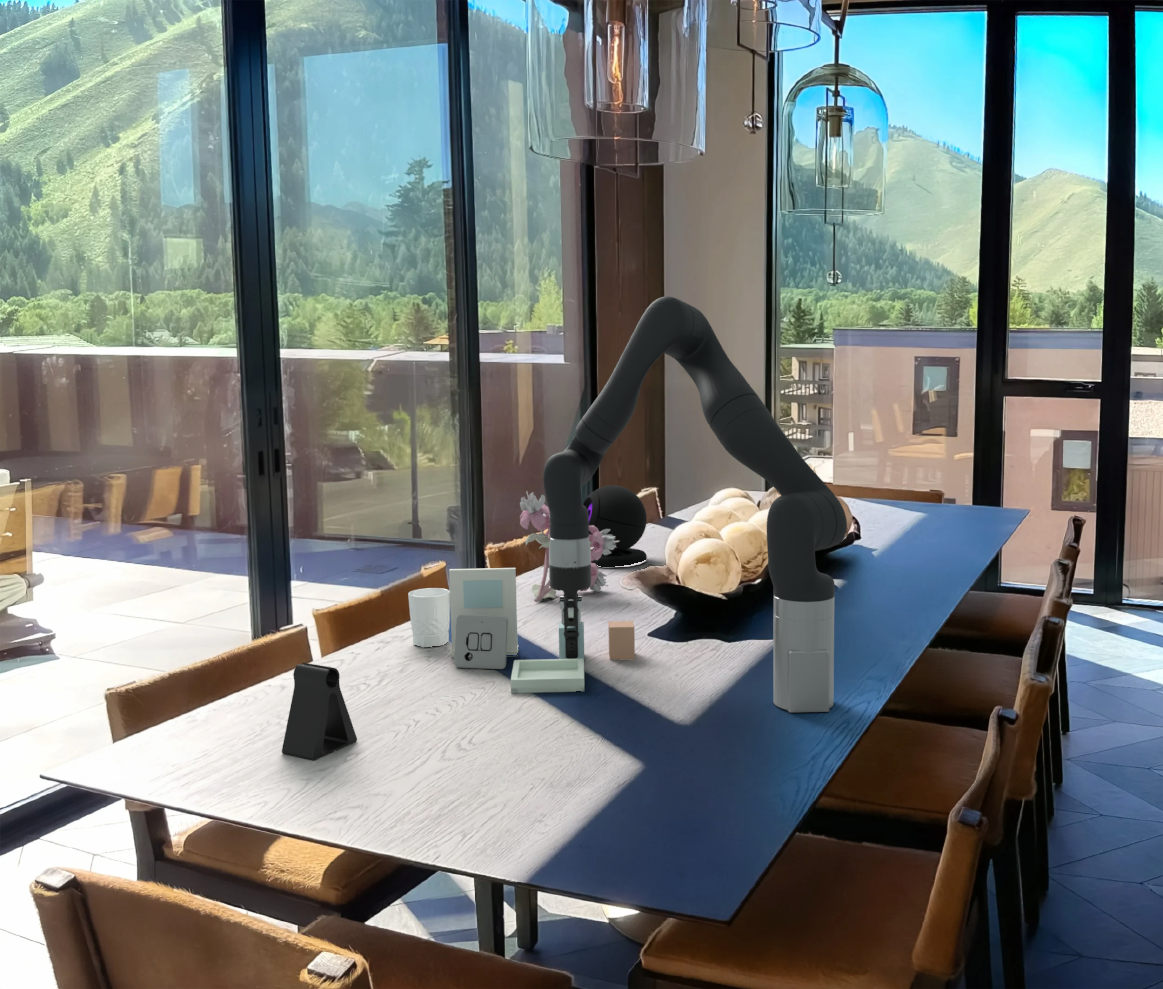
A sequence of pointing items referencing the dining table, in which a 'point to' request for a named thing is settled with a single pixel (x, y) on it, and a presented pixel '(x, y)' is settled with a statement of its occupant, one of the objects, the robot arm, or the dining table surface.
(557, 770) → the dining table surface
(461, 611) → the placard
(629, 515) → the webcam
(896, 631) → the dining table surface
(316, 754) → the black triangular stand
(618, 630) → the terracotta block
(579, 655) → the blue block
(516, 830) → the dining table surface
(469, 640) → the electrical switch
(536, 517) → the flower
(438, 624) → the white cup
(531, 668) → the tray
